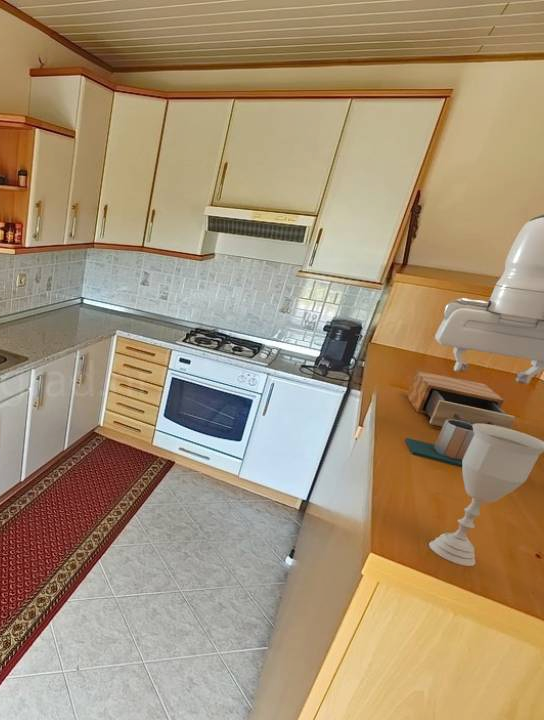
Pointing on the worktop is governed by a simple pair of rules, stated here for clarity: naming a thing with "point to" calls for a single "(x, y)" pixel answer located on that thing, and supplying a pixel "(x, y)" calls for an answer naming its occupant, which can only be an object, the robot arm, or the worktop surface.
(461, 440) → the gray faceted container
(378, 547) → the worktop surface
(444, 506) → the worktop surface
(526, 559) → the worktop surface
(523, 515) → the worktop surface
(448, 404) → the wooden drawer box
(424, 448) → the mat
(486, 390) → the wooden drawer cabinet
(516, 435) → the chalice
